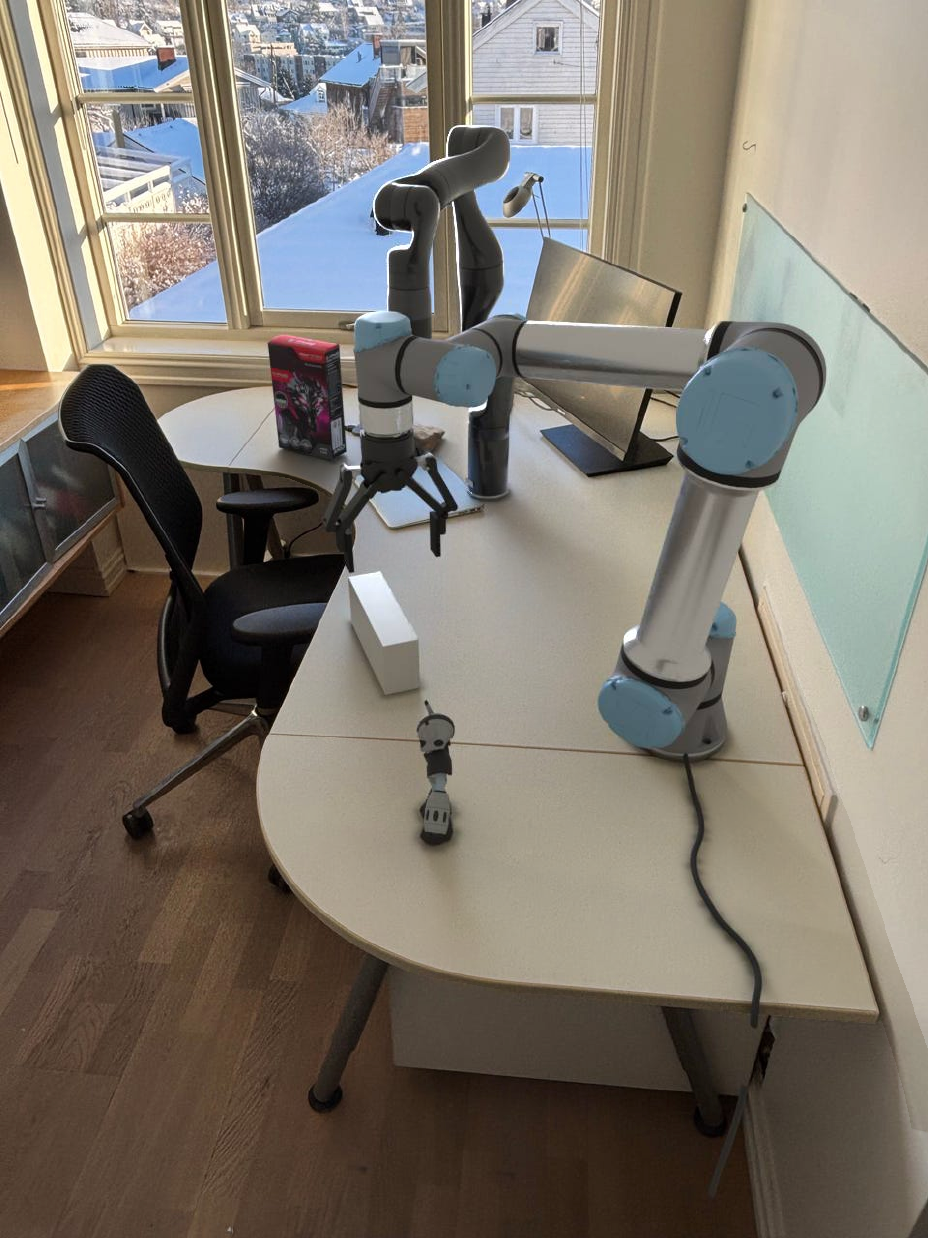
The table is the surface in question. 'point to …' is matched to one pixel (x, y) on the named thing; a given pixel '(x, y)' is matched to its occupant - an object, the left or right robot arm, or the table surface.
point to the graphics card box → (308, 395)
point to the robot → (436, 775)
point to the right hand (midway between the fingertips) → (393, 560)
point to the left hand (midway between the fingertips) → (411, 403)
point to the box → (384, 633)
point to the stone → (426, 436)
